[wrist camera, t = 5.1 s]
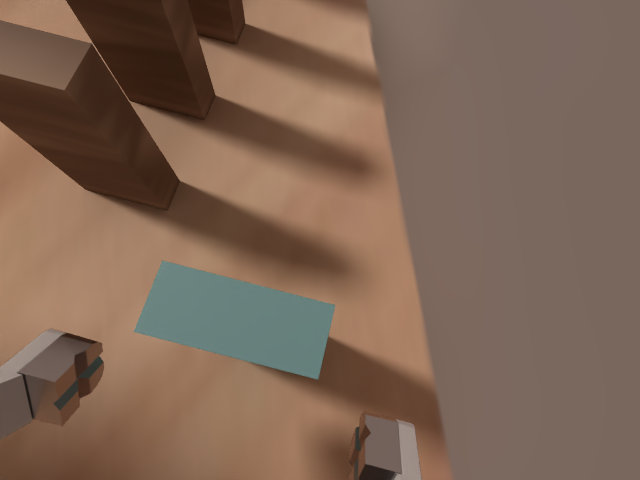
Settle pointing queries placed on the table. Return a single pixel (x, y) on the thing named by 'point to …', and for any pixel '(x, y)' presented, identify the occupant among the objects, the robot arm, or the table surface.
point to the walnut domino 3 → (218, 18)
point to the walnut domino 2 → (79, 116)
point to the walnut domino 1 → (150, 51)
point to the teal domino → (237, 319)
